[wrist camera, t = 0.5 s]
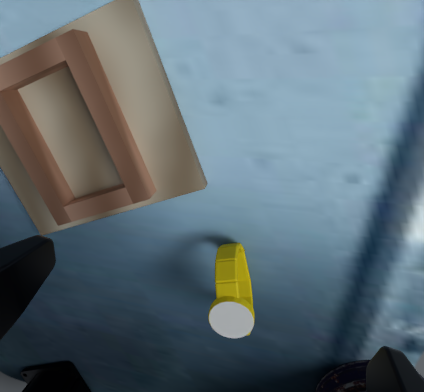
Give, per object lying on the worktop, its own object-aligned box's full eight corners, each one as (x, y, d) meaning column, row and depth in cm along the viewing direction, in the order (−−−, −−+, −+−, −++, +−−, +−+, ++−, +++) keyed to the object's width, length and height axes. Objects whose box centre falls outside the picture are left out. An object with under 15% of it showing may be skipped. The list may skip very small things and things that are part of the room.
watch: (213, 233, 23) (196, 276, 18) (250, 229, 23) (244, 272, 17) (229, 300, 25) (217, 359, 19) (263, 298, 24) (261, 358, 19)
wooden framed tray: (49, 229, 25) (28, 245, 23) (-37, 82, 22) (-72, 84, 19) (207, 183, 22) (200, 196, 19) (136, -4, 18) (118, -14, 16)
